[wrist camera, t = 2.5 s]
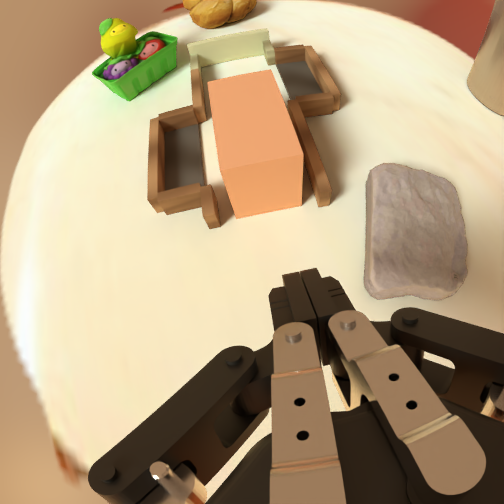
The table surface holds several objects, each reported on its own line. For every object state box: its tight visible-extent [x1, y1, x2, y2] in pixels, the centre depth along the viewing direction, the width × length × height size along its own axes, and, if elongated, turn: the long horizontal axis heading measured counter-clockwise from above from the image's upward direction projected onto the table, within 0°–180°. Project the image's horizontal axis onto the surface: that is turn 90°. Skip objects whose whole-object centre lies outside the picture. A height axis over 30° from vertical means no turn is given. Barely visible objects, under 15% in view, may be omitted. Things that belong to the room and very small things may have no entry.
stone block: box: [364, 163, 467, 300], centre depth 25 cm, size 12×5×10 cm
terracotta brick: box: [207, 70, 303, 219], centre depth 27 cm, size 11×6×8 cm, turn 10°
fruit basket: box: [92, 18, 178, 101], centre depth 34 cm, size 11×9×11 cm
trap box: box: [148, 40, 341, 229], centre depth 32 cm, size 26×21×2 cm
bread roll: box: [183, 0, 257, 28], centre depth 41 cm, size 13×10×8 cm
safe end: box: [187, 28, 269, 67], centre depth 36 cm, size 1×11×4 cm, turn 99°
